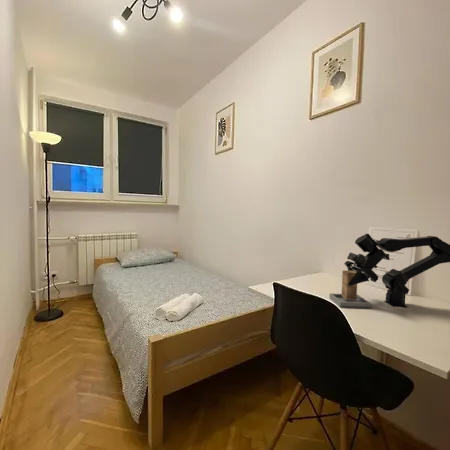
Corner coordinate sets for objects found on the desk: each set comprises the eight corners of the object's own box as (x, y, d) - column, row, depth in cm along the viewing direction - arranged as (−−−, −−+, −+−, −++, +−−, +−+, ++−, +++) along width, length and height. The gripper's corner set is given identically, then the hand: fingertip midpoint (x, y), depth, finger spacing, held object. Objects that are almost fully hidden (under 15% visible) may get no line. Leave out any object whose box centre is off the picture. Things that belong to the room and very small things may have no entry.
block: (351, 296, 116) (352, 270, 116) (356, 299, 112) (357, 272, 111) (341, 296, 116) (342, 270, 116) (346, 299, 112) (347, 272, 111)
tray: (356, 298, 119) (357, 294, 119) (371, 308, 107) (371, 303, 107) (329, 298, 120) (329, 293, 120) (340, 307, 108) (340, 302, 108)
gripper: (349, 244, 122) (325, 266, 123) (372, 249, 104) (345, 276, 104) (364, 260, 123) (341, 282, 123) (390, 269, 104) (362, 295, 104)
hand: (346, 283), depth 114 cm, fingers closed on block, 4 cm apart
